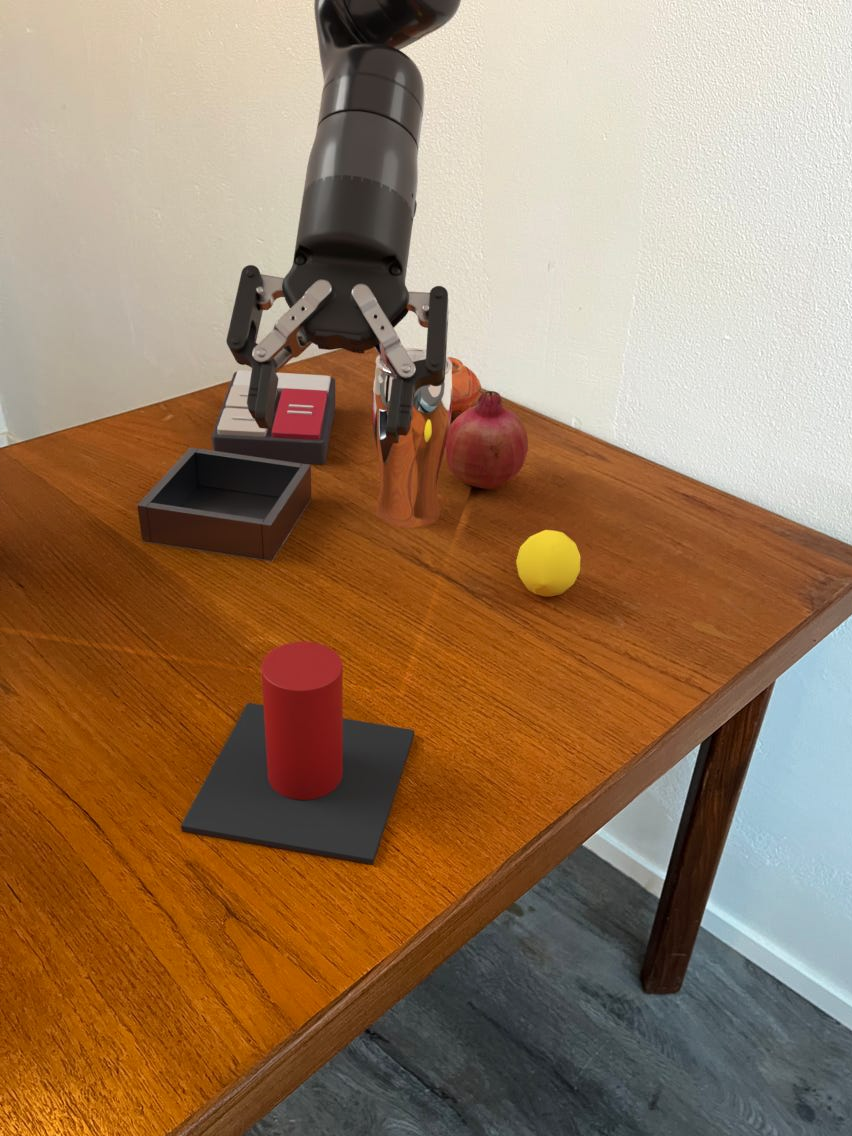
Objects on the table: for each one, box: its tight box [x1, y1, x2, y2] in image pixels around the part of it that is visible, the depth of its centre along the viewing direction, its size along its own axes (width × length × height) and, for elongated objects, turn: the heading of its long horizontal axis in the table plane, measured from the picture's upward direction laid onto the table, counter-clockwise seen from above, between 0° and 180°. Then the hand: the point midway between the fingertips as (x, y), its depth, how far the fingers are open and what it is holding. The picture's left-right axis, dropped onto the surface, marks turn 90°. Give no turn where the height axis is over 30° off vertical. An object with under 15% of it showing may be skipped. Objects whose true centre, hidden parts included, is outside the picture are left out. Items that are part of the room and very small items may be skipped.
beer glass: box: [371, 347, 452, 529], centre depth 90 cm, size 7×7×15 cm
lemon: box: [515, 529, 581, 597], centre depth 85 cm, size 7×5×5 cm
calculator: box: [211, 370, 336, 466], centre depth 105 cm, size 11×4×15 cm
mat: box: [180, 702, 415, 865], centre depth 66 cm, size 12×12×1 cm
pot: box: [447, 356, 482, 414], centre depth 113 cm, size 8×8×7 cm
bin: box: [136, 447, 312, 562], centre depth 90 cm, size 12×12×4 cm
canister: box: [260, 641, 344, 800], centre depth 63 cm, size 5×5×9 cm
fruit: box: [445, 390, 529, 490], centre depth 98 cm, size 8×8×10 cm
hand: (327, 432), depth 66 cm, fingers open, 8 cm apart
